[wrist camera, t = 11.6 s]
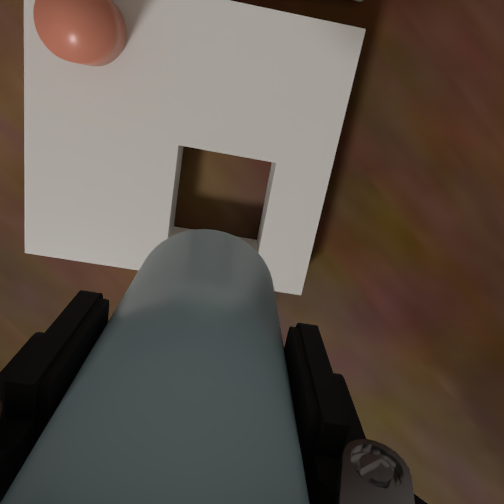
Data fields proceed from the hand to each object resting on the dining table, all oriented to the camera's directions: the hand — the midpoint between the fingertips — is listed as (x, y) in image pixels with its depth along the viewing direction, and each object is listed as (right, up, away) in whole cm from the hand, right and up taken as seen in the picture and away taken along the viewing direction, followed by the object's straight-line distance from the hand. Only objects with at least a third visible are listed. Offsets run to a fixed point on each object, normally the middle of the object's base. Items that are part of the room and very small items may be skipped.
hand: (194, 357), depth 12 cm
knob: (-8, +17, +15) cm, 23 cm away
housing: (-3, +11, +19) cm, 22 cm away
